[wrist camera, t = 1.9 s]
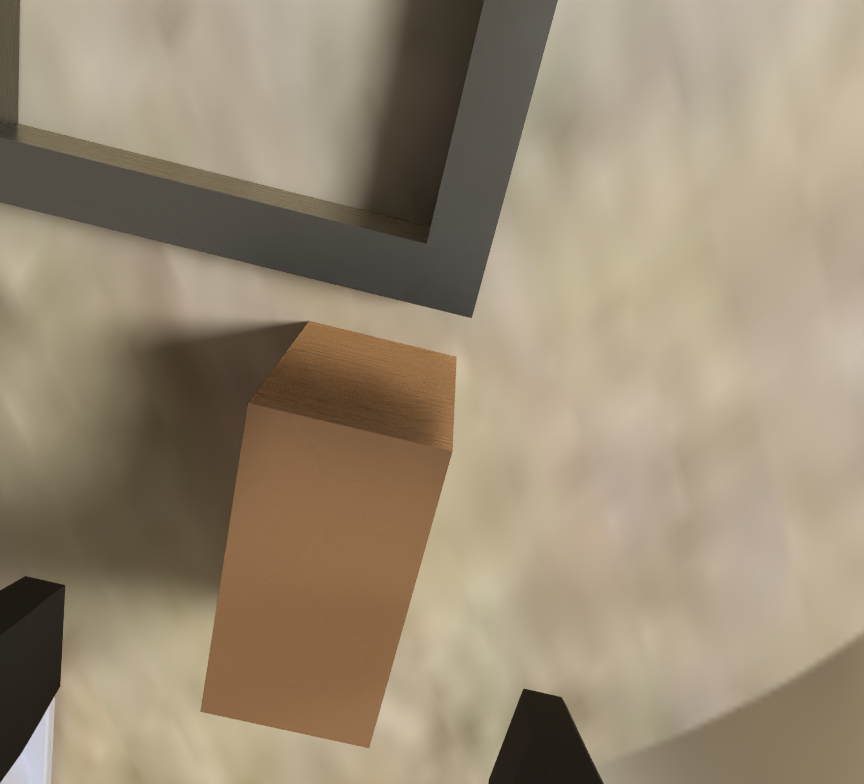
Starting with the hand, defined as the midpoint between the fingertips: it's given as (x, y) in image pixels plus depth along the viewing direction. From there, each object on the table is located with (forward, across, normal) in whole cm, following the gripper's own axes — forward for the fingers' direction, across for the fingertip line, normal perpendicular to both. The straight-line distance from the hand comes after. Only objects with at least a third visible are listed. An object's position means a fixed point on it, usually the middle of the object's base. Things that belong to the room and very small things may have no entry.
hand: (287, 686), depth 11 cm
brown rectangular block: (+7, 0, 0) cm, 7 cm away
